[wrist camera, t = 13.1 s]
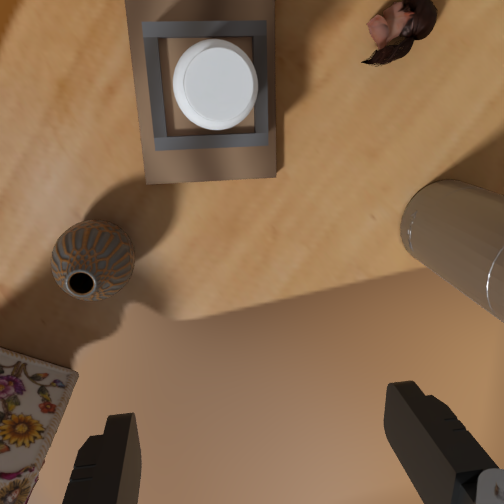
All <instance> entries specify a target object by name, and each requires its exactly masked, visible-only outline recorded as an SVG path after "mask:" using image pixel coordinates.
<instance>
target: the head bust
mask: <svg viewBox="0 0 504 504" xmlns="http://www.w3.org/2000/svg"><path fill="white" fill-rule="evenodd" d="M436 11H437V10H436V7H435V5H433V2H431V1H430V0H402V1H401V2H398V3H397V2H394V3H393V5H391V6H390V7H389V8H387V9H385V10H384V12H383V16H384V18H383V17H382V16H381V15H376V16H375V17H374V18H373V19H371V20H370V21H369V22H368V23H367V25H368V27H369V31H370V34H371V36H372V38H373V39H374V41H375V42H376V44H377V47H378V49H379V50H375V51H374V52H375V54H374V53H373V54H374V55H373V54H372V55H373V56H372V55H371V56H372V57H371V56H370V58H371V59H370V58H369V59H370V60H368V59H367V60H366V61H363V62H361V63H366V64H369V65H370V64H373V65H375V63H376V64H377V67H378V65H379V63H380V65H381V64H382V65H383V64H384V65H386V64H387V62H388V63H389V62H391V61H394V59H395V60H396V59H399V58H402V57H404V56H405V55H406V54H407V53H408V52H409V51H410V49H411V47H412V45H413V42H414V40H422V39H424V38H426V37H427V36H428V35H429V34H430V32H431V31H432V30H433V27H434V25H435V23H436V17H437V12H436ZM397 36H400V37H401V38H403V39H404V40H403V41H402V43H400V42H401V40H400V42H399V41H398V42H399V43H400V44H399V43H396V44H398V45H389V46H387V44H388V43H389V42H390V41H391V40H392V39H393V38H395V37H397ZM403 46H404V47H403ZM395 47H396V48H395ZM402 48H403V49H402ZM384 52H385V53H384Z"/></svg>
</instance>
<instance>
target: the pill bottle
mask: <svg viewBox="0 0 504 504" xmlns="http://www.w3.org/2000/svg"><path fill="white" fill-rule="evenodd" d="M173 91H174V95H175V98H176V101H177V104H178V106H179V108H180V109H181V111H182V112H183V114H184V115H185V116H186V117H187V118H188V119H189V120H190V121H191V122H193V123H195V124H196V125H198V126H200V127H202V128H206V129H210V130H223V129H228V128H231V127H233V126H235V125H237V124H239V123H240V122H241V121H243V120H244V119H245V118H246V117H247V116H248V114H249V113H250V112H251V110H252V108H253V106H254V104H255V101H256V98H257V94H258V79H257V74H256V71H255V68H254V66H253V63H252V62H251V60H250V59H249V57H248V56H247V55H246V53H245V52H244V51H243V50H241V49H240V48H239V47H238V46H236V45H234V44H232V43H230V42H228V41H225V40H220V39H208V40H203V41H200V42H198V43H196V44H194V45H192V46H191V47H190V48H188V49H187V50H186V51H185V52H184V53H183V55H182V56H181V57H180V59H179V61H178V63H177V65H176V67H175V71H174V75H173Z"/></svg>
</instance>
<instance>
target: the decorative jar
mask: <svg viewBox="0 0 504 504" xmlns="http://www.w3.org/2000/svg"><path fill="white" fill-rule="evenodd" d="M78 377H79V374H78V372H76V371H74V370H71V369H68V368H64V367H61V366H58V365H54V364H51V363H48V362H45V361H42V360H39V359H35V358H32V357H29V356H26V355H23V354H19V353H16V352H13V351H10V350H7V349H3V348H0V504H27V502H28V500H29V497H30V495H31V492H32V490H33V488H34V486H35V484H36V483H37V481H38V475H39V471H40V470H41V468H42V466H43V464H44V463H45V457H46V455H47V452H48V450H49V448H50V446H51V443H52V441H53V438H54V435H55V434H56V432H57V429H58V426H59V424H60V421H61V419H62V417H63V414H64V412H65V409H66V407H67V404H68V402H69V399H70V397H71V394H72V391H73V388H74V386H75V384H76V382H77V379H78Z"/></svg>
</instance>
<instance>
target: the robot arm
mask: <svg viewBox="0 0 504 504" xmlns="http://www.w3.org/2000/svg"><path fill="white" fill-rule="evenodd" d="M401 238H402V242H403V244H404V246H405V248H406V250H407V251H408V252H409V253H410V254H411V255H412V256H413V257H414V258H416V259H417V260H419V261H420V262H421V263H423V264H424V265H425V266H427V267H428V268H429V269H431V270H432V271H433V272H435V273H436V274H437V275H439V276H440V277H441V278H443V279H444V280H446V281H447V282H448V283H450V284H451V285H453V286H454V287H455V288H457V289H458V290H459V291H461V292H462V293H464V294H465V295H466V296H468V297H469V298H471V299H472V300H473V301H474V302H476V303H477V304H479V305H480V306H481V307H483V308H484V309H486V310H487V311H488V312H490V313H491V314H492V315H494V316H495V317H497V318H498V319H499V320H501V321H502V322H504V195H501V194H498V193H495V192H492V191H489V190H486V189H483V188H480V187H477V186H474V185H471V184H468V183H464V182H461V181H457V180H442V181H438V182H434V183H432V184H430V185H428V186H426V187H425V188H423V189H422V190H421V191H419V192H418V193H417V194H416V195H415V196H414V197H413V198H412V199H411V201H410V202H409V204H408V206H407V207H406V209H405V211H404V214H403V216H402V221H401ZM384 429H385V434H386V437H387V439H388V441H389V443H390V445H391V447H392V449H393V450H394V452H395V454H396V456H397V457H398V459H399V461H400V463H401V464H402V466H403V468H404V469H405V471H406V473H407V475H408V476H409V478H410V480H411V482H412V483H413V485H414V487H415V489H416V490H417V492H418V494H419V495H420V497H421V499H422V501H423V502H424V504H504V470H503V469H499V467H498V466H497V465H496V464H495V462H494V461H493V460H492V459H491V458H490V457H489V455H488V454H487V453H486V452H485V450H484V449H483V448H482V447H481V446H480V444H479V443H478V442H477V441H476V440H475V438H474V437H473V436H472V435H471V434H470V432H469V431H467V430H466V428H465V426H464V425H463V424H462V423H461V421H459V420H458V419H457V417H456V415H455V414H454V413H453V412H452V411H451V409H450V408H449V407H448V406H447V405H446V404H444V403H443V402H441V401H440V400H438V399H437V398H436V397H434V396H433V395H428V396H425V395H424V393H423V392H422V391H421V390H420V388H419V387H418V386H417V384H416V383H415V382H414V381H404V382H395V383H389V384H388V386H387V392H386V403H385V413H384ZM140 479H141V449H140V443H139V437H138V431H137V424H136V418H135V414H134V413H126V414H117V415H110V416H108V418H107V422H106V426H105V430H104V434H103V435H95V436H90V437H89V438H88V439H87V441H86V442H85V443H84V444H83V446H82V447H81V448H80V449H79V451H78V454H77V457H76V460H75V464H74V469H73V470H72V474H71V477H70V482H69V483H68V486H67V490H66V493H65V496H64V499H63V503H62V504H137V503H138V494H139V487H140Z"/></svg>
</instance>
